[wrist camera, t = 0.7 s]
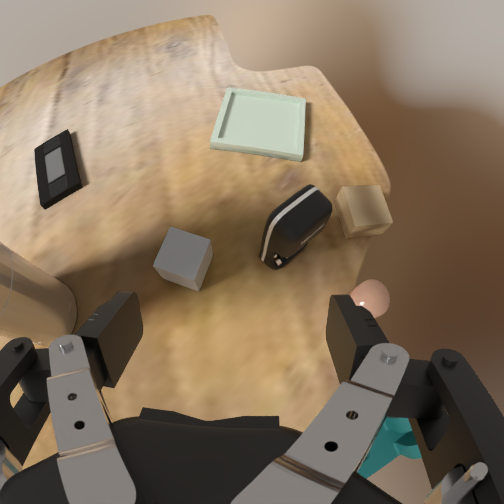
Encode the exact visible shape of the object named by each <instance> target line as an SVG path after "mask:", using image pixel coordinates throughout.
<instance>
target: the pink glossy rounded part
mask: <svg viewBox="0 0 504 504" xmlns="http://www.w3.org/2000/svg"><path fill="white" fill-rule="evenodd" d="M347 294H349V295H350V296H351V298H352V299H353V301H354V303H355V304H356V306H363V307H364V308H366V309H367V310H369V311H370V312H371V314H372V315H373V317H374V318H376V317H378V316H381V315H382V314H384V313H385V312H386V311H387V309H388V307H389V304H390V295H389V292H388V290H387V288H386V287H385V285H384V284H383V283H381V282H380V281H377V280H374V279H370V280H366V281H364V282H363V283H361V284H360V285H359V286H357V287H356V288H354V289H353V290H351V291H350V292H348V293H347ZM347 294H346V295H347Z"/></svg>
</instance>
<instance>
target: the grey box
mask: <svg viewBox="0 0 504 504" xmlns="http://www.w3.org/2000/svg"><path fill="white" fill-rule="evenodd" d="M212 257H213V251H212V245H211V240H210V239H207V238H204V237H201V236H198V235H195V234H192V233H189V232H186V231H183V230H180V229H177V228H174V227H171V226H170V228H169V231H168V233H167V235H166V237H165V239H164V241H163V244H162V246H161V248H160V250H159V252H158V255H157V257H156V259H155V261H154V264H153V267H154V268H155V269H156V271H157V272H158V273H159V275H160V276H161V277H162V278H163V279H166V280H168V281H171V282H174V283H176V284H179V285H182V286H185V287H187V288H190V289H193V290H196V291H198V292H199V290H200V288H201V285H202V283H203V280H204V278H205V275H206V272H207V270H208V267H209V265H210V262H211V260H212Z"/></svg>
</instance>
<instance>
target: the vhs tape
mask: <svg viewBox="0 0 504 504" xmlns="http://www.w3.org/2000/svg"><path fill="white" fill-rule="evenodd" d="M34 151H35V164H36V174H37V183H38V191H39V198H40V205H41V206H42V207H43V208H44V209H47V208H49V207H50V206H52V205H54V204H55V203H57V202H58V201H60V200H62V199H63V198H65V197H67V196H69V195H70V194H72V193H74V192H75V191H77V190H79V189H81V188H83V187H82V184H81V180H80V176H79V172H78V168H77V163H76V159H75V154H74V150H73V145H72V140H71V135H70V133H69V131H68V129H67V130H65V131H63V132H62V133H60V134H58V135H56V136H55V137H53V138H51V139H50V140H48V141H46V142H45V143H43V144H42V145H40V146H38V147H37V148H35V150H34Z"/></svg>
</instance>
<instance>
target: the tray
mask: <svg viewBox="0 0 504 504" xmlns="http://www.w3.org/2000/svg"><path fill="white" fill-rule="evenodd" d="M305 103H306V99H304V98H299V97H294V96H288V95H282V94H276V93H269V92H262V91H255V90H247V89H238V88H227V91H226V94H225V96H224V99H223V102H222V105H221V108H220V111H219V114H218V118H217V121H216V124H215V127H214V130H213V133H212V136H211V140H210V149H218V150H226V151H234V152H241V153H249V154H256V155H262V156H269V157H275V158H281V159H287V160H293V161H298V162H301V161H302V158H303V149H304V129H305Z"/></svg>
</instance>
